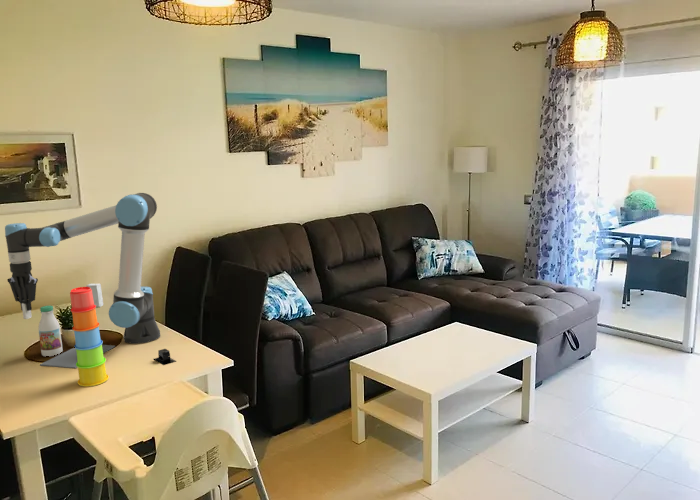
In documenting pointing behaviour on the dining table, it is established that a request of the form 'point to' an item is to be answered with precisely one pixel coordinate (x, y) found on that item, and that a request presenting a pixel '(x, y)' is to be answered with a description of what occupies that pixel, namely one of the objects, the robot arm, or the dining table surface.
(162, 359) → the black block on base
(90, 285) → the skincare box
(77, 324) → the stacking cups
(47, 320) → the milk bottle
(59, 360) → the slate mat
